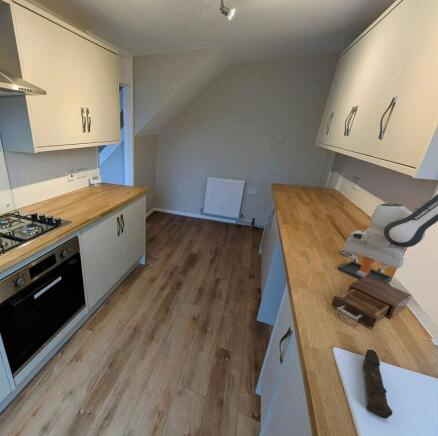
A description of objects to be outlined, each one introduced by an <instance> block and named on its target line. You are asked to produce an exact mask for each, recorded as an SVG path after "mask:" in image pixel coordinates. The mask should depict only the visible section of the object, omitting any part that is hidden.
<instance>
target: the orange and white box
mask: <svg viewBox="0 0 438 436" xmlns="http://www.w3.org/2000/svg"><path fill="white" fill-rule="evenodd" d="M374 263H375V260H372V259H370V258H367V257H363V260H362V263H361V264H360V265H361V268H360V270H359V271H357V273H356V274H357V275H360V276H362V277H365V276H367V275H369V273H370V270H371V269H372V268H373V266H374Z"/></svg>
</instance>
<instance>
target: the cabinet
mask: <svg viewBox="0 0 438 436" xmlns="http://www.w3.org/2000/svg"><path fill="white" fill-rule="evenodd" d="M352 289H355V290H357V291H359V292H361V293H364V294H366V295H368V296H370V297H372V298H374V299H376V300H378V301H380V302H382V303H384V304H386V305H388V306H390V308H389V310H388V312H387V314H385V315H384V316H383V317H385V318H387V319H389V320H390V319H392V318H393V317H394V316H396V315H397V314H399V313H401V311H402V310H404V309H406V307H407V305H408V304H409V301H410V299H411V297H412V294H410V293H408V292H406V291H404V290H401V289H399V288H396V287H394V286H392V285H389V284H387V283H383V282H380V281H378V280H376V279H373V278H371V277H368V276H365V277H364V278H362V279H360V280H359V279H357V280H356V281H354V282H352V283H350V284H349V286H348V288H347V291H346V292H348V291H350V290H352Z"/></svg>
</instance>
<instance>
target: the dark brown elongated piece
mask: <svg viewBox="0 0 438 436" xmlns="http://www.w3.org/2000/svg"><path fill="white" fill-rule="evenodd" d="M380 366H381V362H380V358H379V355H378V354H377V351H375V350H374V349H369V348H368V349H367V350H366V352H365V355H364V360H363V366H362V368H363V370H364V376H365V377H364V378H365V383H366V394H367V399H368V400H367V401H368V403H367V404H366V406H365V407H366V409H367V412H369V411H370V412H369V413H371V412H372V413H371V414H373V413H374V414H375V416H376V415H377V416H376V417H378V418H382V419H389V418H390V417H391V416H392V415H393V413H394V412H393V410H392V408H391V407H390V406H389V404H388V399H387V392H388V391H387V389H386V387H384V382H383V377H382V374H381V370H380V369H381V368H380ZM374 414H373V415H374Z"/></svg>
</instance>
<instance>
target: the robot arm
mask: <svg viewBox="0 0 438 436" xmlns="http://www.w3.org/2000/svg"><path fill="white" fill-rule="evenodd" d="M437 221H438V193H436V194H435V195H434V196H433V197H432V198H430V199H429V200H428V201H427V202H425V203H424V204H423V205H421V206H419V208H417V209H416V210H415V211H411V210H409V209H408V208H407V207H406V206H405V205H404V204H402V203H397V202H396V203H395V202H385V203H380V204H379V205H377V206H376V207H375V208H374V210H373V213H372V215H371V217H370V219H369V225H368V227H367V228H366V230H359V229H358V230H355V231H352V232H351V233H350V235H349V237H347V239H346V240H345V242H344V245H343V248H344V249H343V250H344V251H348V252H351V254H352V257H353V258H351V259H352V260H351V261H353V262H355V263H357V262H358V260H359V257H358V256H357V255H359V256H362V257H363V258H365V257H367V258H370V259H372V260H375V261H376V262H378V263H379V264H383V267H382V266H379V267H378V268H377V270H376V271H378V272H380V273H383V272H384V271H385V269H387V268H389V267H392V268H394V269H400V268H402V267H403V266H402V264H403V260H404V258H403V256H404V254H405V252H406V250H408V249H407V248H411V247H414V246H416V245H417V244H419V243H421V242H422V241H421V240H422V239H423V238H424V236H425V231H426V230H427V229H428V228H429V227H431V226H432V225H433V224H434V225H435V224H437V223H438V222H437ZM356 256H357V257H358V258H357V257H356ZM375 261H374V262H375ZM403 265H404V264H403Z"/></svg>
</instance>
